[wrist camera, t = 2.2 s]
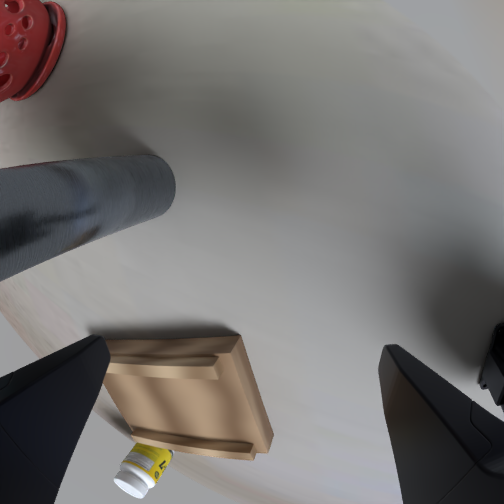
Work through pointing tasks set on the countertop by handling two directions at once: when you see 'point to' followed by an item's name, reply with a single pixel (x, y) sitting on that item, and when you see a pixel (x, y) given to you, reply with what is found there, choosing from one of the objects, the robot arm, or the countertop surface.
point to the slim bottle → (76, 204)
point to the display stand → (189, 395)
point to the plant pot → (28, 45)
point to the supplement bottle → (142, 469)
